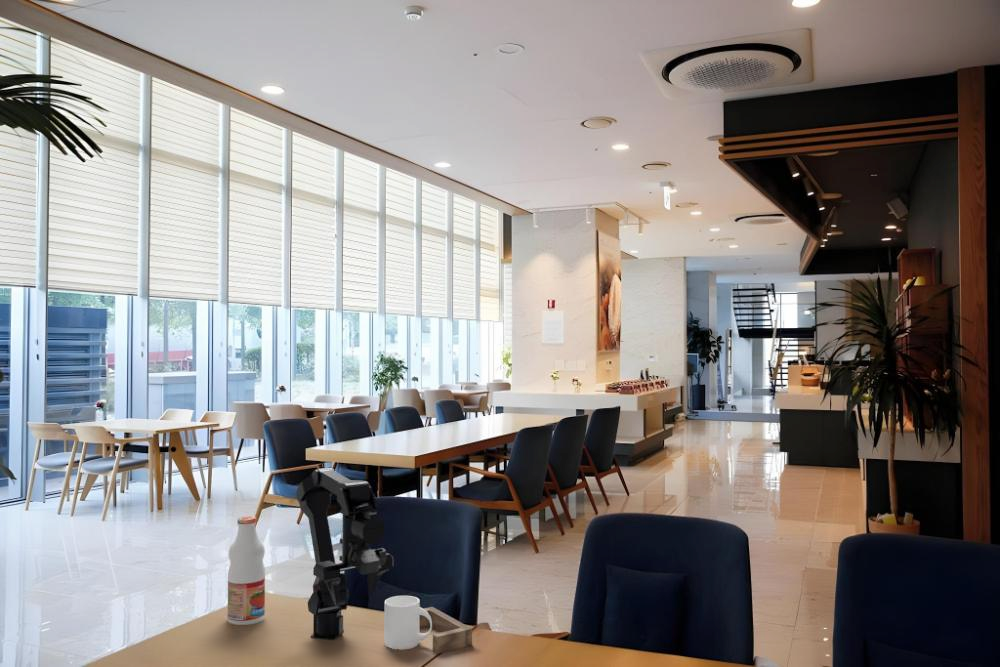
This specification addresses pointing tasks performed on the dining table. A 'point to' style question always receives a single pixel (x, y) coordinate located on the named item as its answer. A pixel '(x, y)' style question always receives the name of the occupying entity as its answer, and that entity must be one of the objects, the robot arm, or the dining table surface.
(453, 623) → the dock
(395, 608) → the mug
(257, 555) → the fruit juice
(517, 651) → the dining table surface
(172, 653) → the dining table surface
